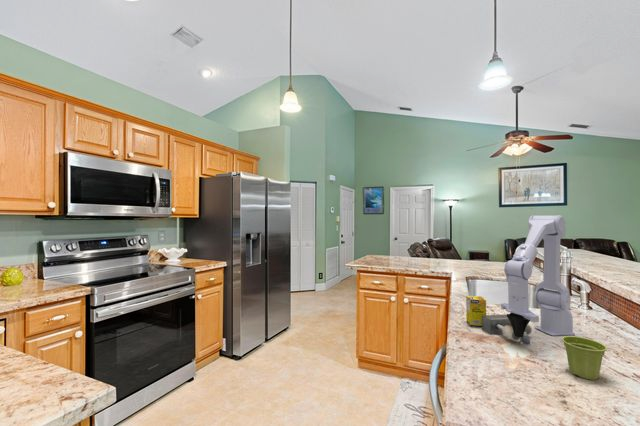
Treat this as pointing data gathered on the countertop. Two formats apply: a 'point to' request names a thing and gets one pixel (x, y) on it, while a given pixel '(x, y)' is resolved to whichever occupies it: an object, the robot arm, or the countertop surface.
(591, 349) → the plant pot
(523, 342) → the potentiometer
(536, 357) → the countertop surface
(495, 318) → the panel
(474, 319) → the supplement box
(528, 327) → the knob
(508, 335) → the knob
